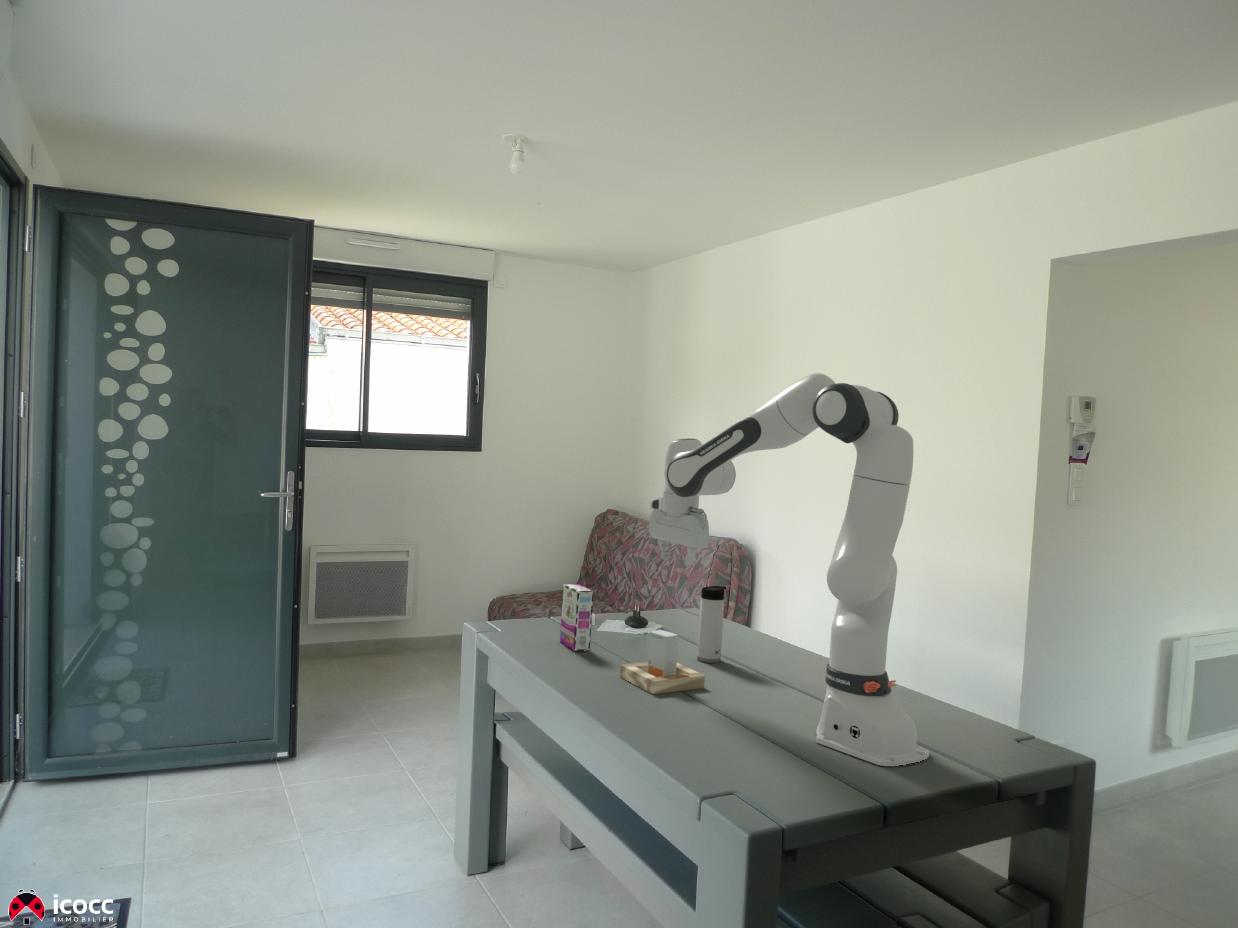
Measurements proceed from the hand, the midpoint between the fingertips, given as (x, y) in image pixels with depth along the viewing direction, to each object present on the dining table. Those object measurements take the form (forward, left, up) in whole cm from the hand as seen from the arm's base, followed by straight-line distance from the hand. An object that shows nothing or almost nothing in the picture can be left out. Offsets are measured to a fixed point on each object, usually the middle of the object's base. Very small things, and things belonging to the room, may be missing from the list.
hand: (676, 561), depth 208 cm
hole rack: (-2, +4, -29) cm, 29 cm away
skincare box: (-2, +4, -29) cm, 29 cm away
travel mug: (+11, -20, -29) cm, 37 cm away
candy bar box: (+35, +8, -29) cm, 46 cm away
